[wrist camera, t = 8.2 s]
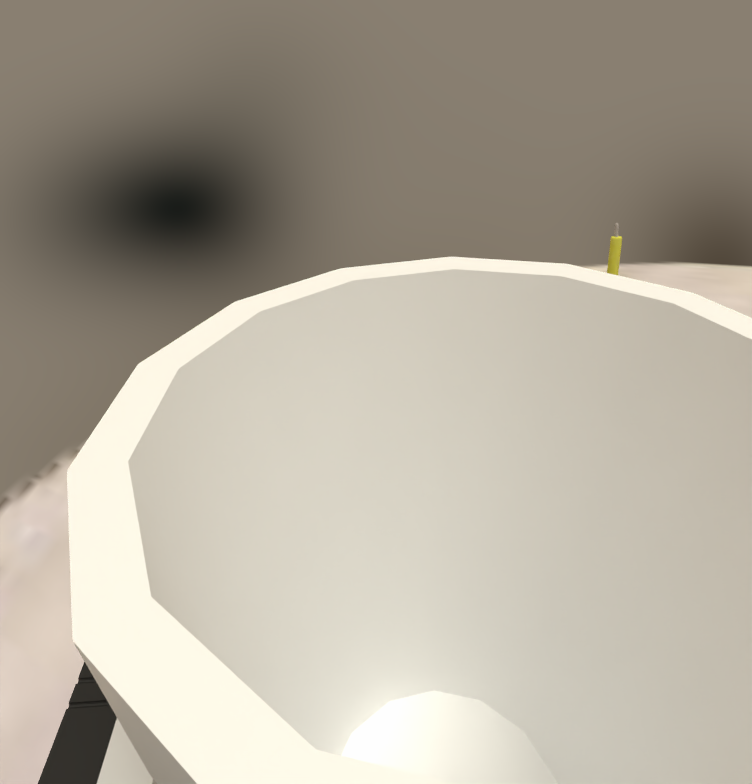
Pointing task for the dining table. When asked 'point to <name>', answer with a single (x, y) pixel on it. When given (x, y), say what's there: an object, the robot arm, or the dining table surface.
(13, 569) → the dining table surface
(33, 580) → the dining table surface
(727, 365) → the foam cup
